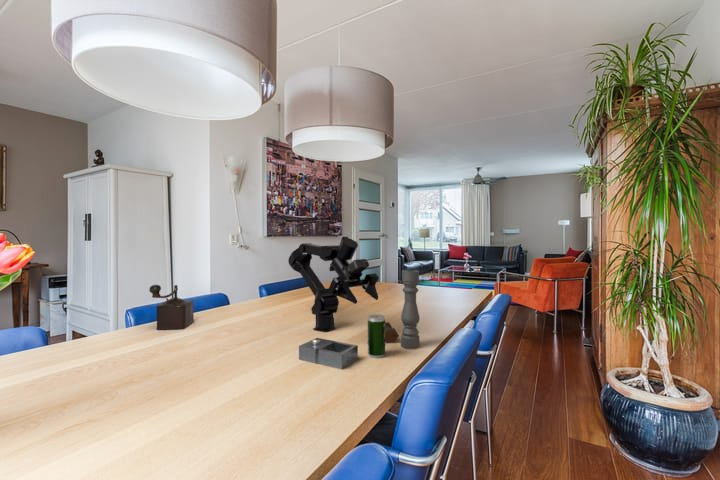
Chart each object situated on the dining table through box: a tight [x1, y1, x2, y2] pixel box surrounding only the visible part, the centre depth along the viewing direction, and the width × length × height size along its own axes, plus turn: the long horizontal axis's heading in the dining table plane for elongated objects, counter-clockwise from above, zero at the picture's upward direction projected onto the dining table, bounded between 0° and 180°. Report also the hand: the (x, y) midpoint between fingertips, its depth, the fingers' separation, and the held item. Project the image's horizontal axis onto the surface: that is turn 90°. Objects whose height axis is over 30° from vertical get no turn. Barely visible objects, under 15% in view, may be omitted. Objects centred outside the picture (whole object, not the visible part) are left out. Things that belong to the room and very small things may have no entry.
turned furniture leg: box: [400, 269, 420, 350], centre depth 113 cm, size 6×6×25 cm
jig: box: [298, 337, 359, 370], centre depth 102 cm, size 15×9×5 cm, turn 61°
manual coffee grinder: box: [149, 284, 195, 331], centre depth 134 cm, size 16×11×18 cm
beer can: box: [367, 313, 386, 359], centre depth 105 cm, size 5×5×12 cm
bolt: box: [385, 321, 399, 344], centre depth 124 cm, size 6×5×15 cm
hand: (367, 300), depth 113 cm, fingers open, 9 cm apart
